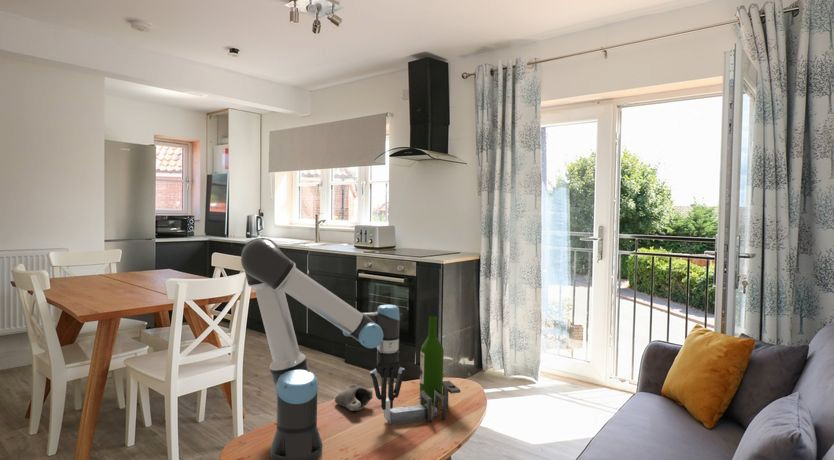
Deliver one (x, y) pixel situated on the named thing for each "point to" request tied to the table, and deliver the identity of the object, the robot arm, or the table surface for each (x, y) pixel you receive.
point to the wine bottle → (431, 362)
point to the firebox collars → (446, 387)
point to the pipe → (354, 397)
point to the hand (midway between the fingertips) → (386, 418)
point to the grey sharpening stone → (410, 414)
